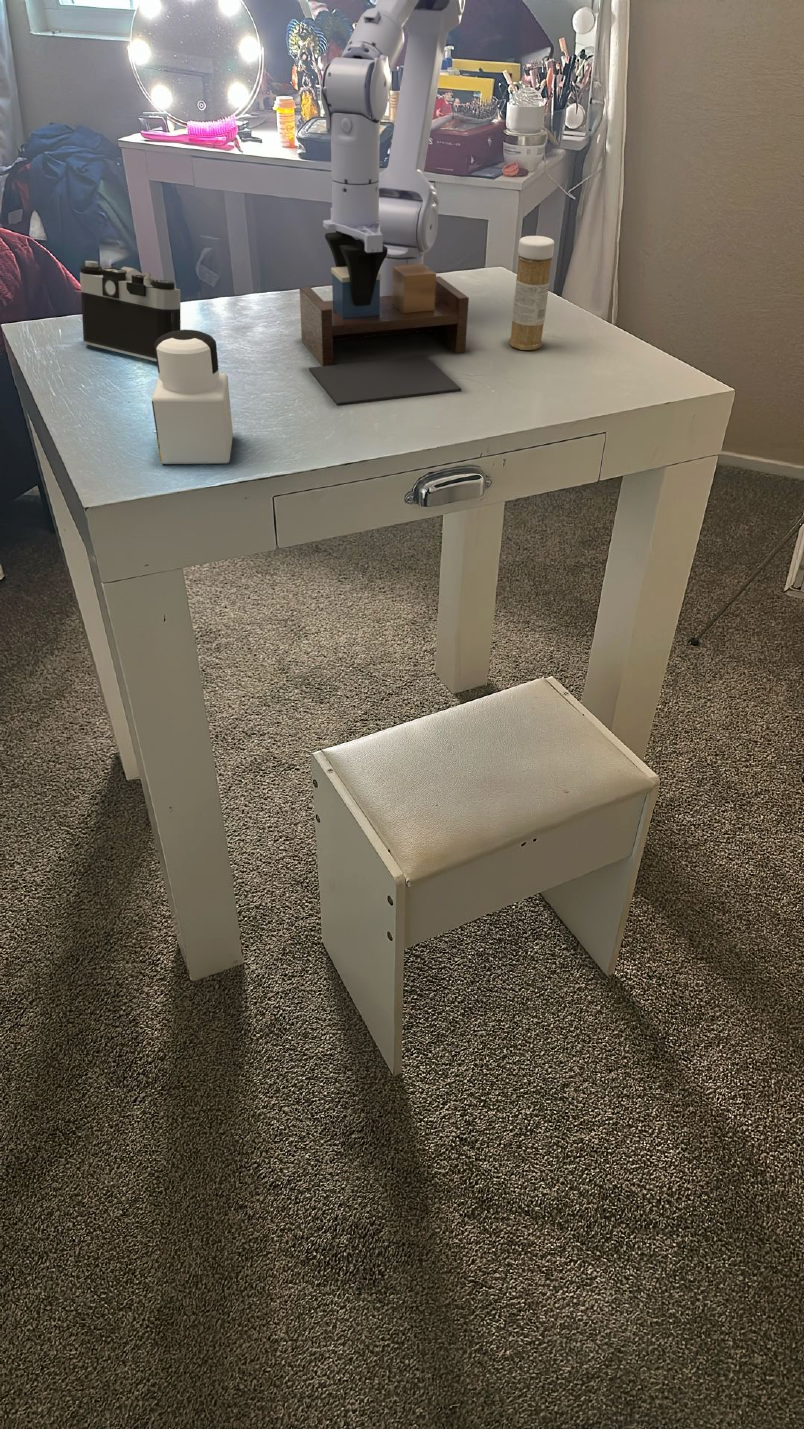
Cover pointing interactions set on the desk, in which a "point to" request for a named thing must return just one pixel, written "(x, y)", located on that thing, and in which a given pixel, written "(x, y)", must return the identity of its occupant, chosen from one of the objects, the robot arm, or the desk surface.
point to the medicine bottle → (191, 400)
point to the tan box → (413, 288)
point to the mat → (383, 380)
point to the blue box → (344, 297)
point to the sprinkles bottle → (531, 291)
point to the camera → (127, 309)
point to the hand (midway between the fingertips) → (355, 299)
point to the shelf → (383, 321)
